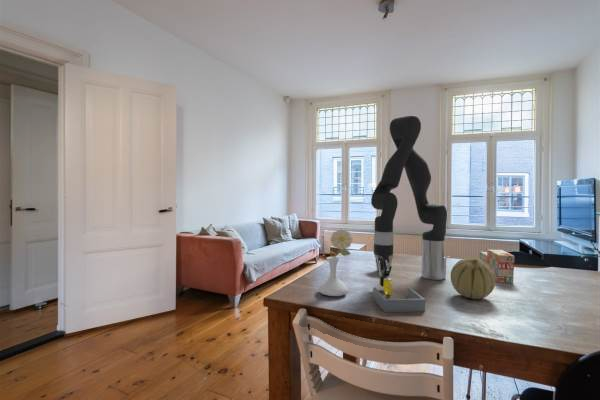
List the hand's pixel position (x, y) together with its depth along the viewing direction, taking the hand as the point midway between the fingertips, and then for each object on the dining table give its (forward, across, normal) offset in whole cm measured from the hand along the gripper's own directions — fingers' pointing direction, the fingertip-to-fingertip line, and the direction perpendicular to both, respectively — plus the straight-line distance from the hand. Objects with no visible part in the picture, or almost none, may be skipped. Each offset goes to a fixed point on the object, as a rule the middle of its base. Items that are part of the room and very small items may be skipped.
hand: (383, 285), depth 123 cm
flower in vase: (+2, -4, +20) cm, 20 cm away
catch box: (+2, -15, 0) cm, 15 cm away
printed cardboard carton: (+2, +17, -58) cm, 60 cm away
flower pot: (+2, +27, -9) cm, 28 cm away
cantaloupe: (+2, -10, -30) cm, 32 cm away
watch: (+2, -5, 0) cm, 5 cm away
